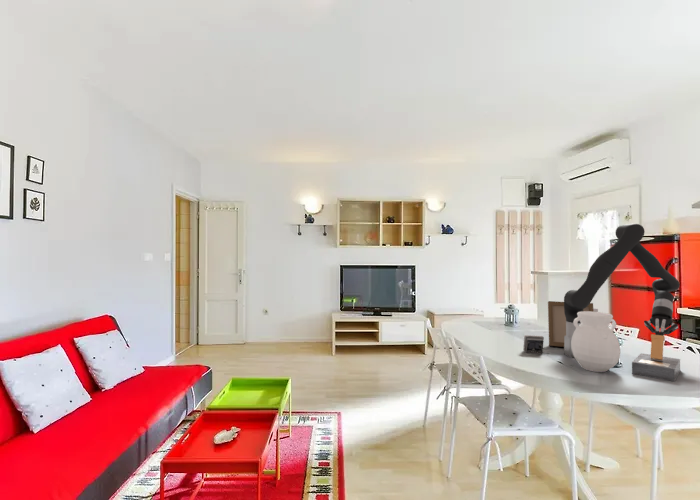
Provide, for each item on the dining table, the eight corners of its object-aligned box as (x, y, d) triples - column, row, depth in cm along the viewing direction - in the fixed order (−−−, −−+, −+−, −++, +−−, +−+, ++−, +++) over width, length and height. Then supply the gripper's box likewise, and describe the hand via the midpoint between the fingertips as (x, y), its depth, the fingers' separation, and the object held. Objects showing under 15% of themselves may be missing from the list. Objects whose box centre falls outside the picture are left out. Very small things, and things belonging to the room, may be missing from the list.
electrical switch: (542, 352, 200) (542, 334, 199) (545, 355, 195) (545, 338, 194) (523, 351, 202) (523, 334, 201) (525, 354, 197) (525, 337, 196)
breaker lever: (649, 357, 168) (650, 334, 171) (650, 358, 169) (651, 335, 173) (662, 359, 164) (664, 335, 168) (663, 361, 166) (664, 337, 169)
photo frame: (595, 351, 203) (595, 304, 203) (549, 347, 211) (549, 302, 212) (590, 345, 216) (589, 301, 217) (547, 342, 225) (547, 299, 226)
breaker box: (632, 373, 164) (632, 361, 164) (640, 363, 179) (640, 352, 179) (674, 381, 154) (674, 368, 154) (680, 370, 169) (680, 358, 169)
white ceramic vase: (582, 374, 162) (582, 315, 162) (564, 362, 180) (564, 309, 181) (630, 376, 159) (629, 317, 160) (606, 364, 178) (606, 310, 178)
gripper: (644, 304, 185) (639, 332, 176) (680, 306, 175) (677, 337, 166) (646, 313, 188) (641, 342, 179) (681, 317, 179) (678, 347, 170)
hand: (659, 339), depth 173 cm, fingers closed
